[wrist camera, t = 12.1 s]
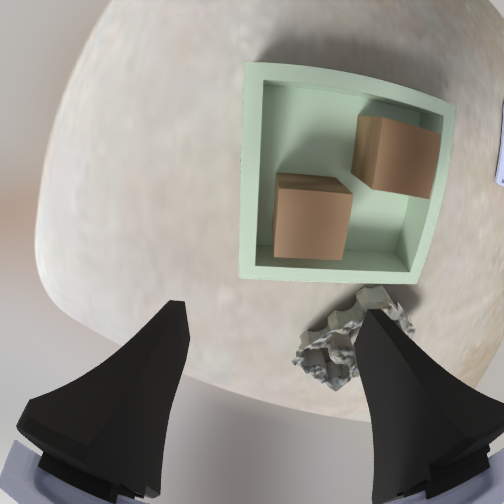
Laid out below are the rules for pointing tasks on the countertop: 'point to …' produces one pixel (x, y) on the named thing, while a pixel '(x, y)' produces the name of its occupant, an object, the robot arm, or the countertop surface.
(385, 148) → the block
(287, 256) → the block
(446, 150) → the dish
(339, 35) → the countertop surface
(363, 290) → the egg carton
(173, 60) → the countertop surface
